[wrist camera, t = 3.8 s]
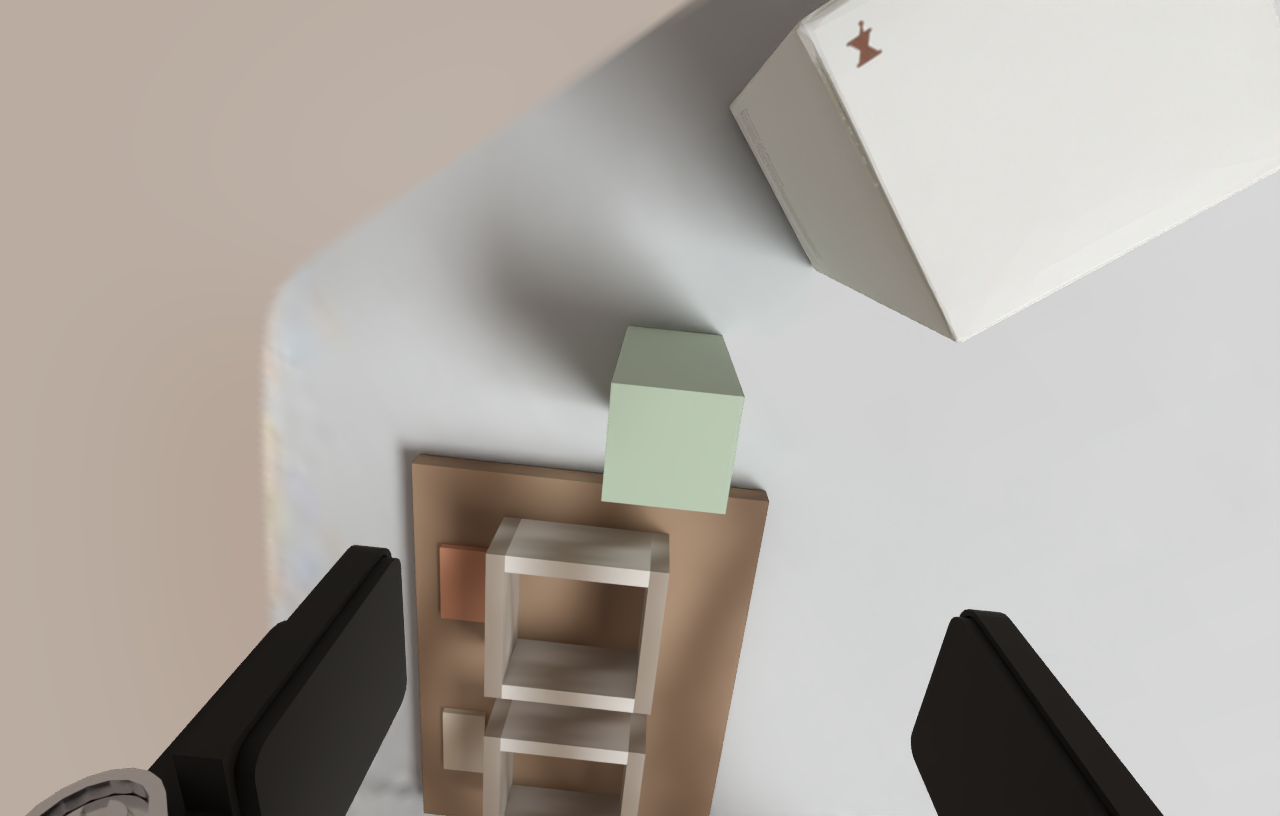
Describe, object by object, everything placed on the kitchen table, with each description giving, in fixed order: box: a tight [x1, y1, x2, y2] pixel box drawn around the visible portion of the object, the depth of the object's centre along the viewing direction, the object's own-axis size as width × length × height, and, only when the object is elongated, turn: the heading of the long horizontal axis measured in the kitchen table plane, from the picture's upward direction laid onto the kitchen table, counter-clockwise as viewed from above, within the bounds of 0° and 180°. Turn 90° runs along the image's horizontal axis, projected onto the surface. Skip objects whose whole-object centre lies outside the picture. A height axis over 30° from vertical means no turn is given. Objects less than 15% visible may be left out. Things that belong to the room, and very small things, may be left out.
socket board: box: [412, 454, 769, 816], centre depth 30 cm, size 16×22×4 cm
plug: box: [601, 326, 745, 514], centre depth 23 cm, size 4×4×8 cm
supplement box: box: [730, 0, 1280, 342], centre depth 17 cm, size 7×7×13 cm
